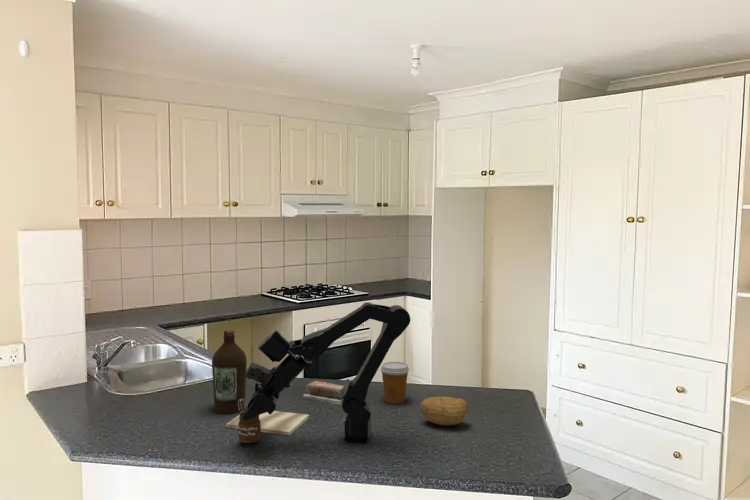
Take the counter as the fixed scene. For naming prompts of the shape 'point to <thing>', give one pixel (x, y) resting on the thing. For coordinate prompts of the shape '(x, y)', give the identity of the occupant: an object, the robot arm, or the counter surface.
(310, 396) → the packaged product
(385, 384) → the disposable coffee cup
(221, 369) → the olive oil
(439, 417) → the potato
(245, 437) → the utensil holder
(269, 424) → the birch board
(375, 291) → the counter surface
